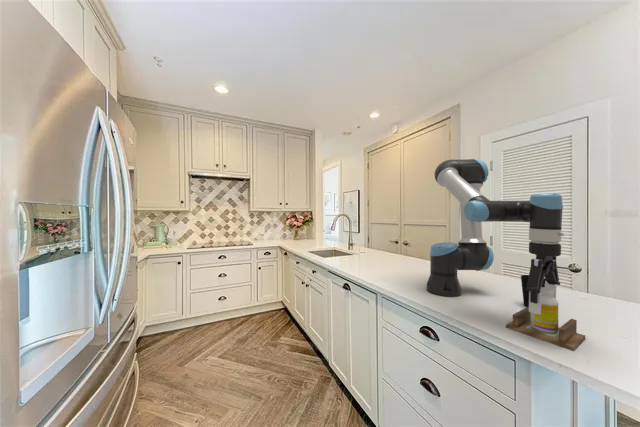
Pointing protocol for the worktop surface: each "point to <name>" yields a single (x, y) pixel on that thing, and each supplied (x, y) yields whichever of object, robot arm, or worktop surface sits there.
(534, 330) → the holder
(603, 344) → the worktop surface
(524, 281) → the cup
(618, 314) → the worktop surface
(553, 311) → the supplement bottle
